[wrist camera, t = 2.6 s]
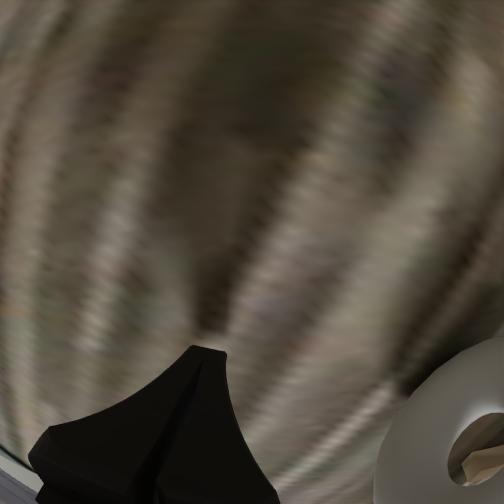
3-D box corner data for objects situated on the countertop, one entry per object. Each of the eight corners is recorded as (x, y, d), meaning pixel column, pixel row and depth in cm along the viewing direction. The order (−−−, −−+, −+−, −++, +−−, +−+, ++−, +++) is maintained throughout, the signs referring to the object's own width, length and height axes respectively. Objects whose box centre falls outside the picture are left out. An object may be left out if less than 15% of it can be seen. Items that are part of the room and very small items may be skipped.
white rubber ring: (501, 280, 11) (643, 420, 1) (521, 320, 11) (628, 446, 2) (344, 419, 13) (366, 604, 4) (381, 440, 14) (410, 595, 5)
